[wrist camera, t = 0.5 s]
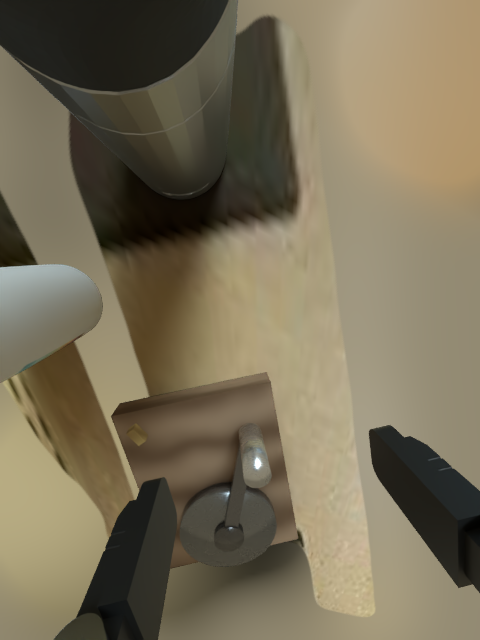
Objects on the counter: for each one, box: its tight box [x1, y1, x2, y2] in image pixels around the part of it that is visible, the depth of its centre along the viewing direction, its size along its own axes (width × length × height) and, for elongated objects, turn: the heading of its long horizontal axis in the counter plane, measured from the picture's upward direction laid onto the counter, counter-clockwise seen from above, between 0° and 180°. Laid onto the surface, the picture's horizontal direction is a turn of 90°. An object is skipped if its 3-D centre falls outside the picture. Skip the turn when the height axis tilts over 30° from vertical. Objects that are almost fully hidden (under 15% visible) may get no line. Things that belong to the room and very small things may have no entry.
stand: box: [111, 372, 298, 568], centre depth 32 cm, size 24×18×4 cm
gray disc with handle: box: [180, 423, 277, 567], centre depth 28 cm, size 22×12×8 cm, turn 171°
